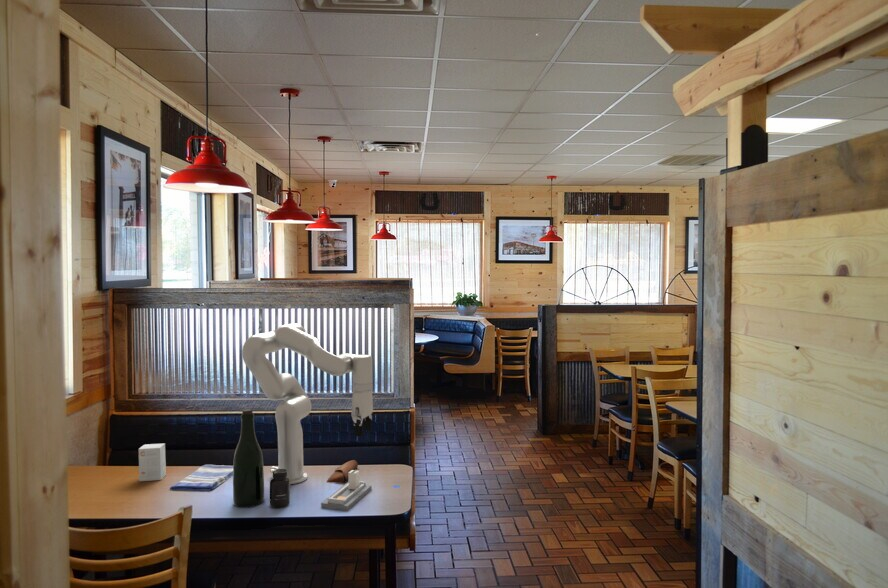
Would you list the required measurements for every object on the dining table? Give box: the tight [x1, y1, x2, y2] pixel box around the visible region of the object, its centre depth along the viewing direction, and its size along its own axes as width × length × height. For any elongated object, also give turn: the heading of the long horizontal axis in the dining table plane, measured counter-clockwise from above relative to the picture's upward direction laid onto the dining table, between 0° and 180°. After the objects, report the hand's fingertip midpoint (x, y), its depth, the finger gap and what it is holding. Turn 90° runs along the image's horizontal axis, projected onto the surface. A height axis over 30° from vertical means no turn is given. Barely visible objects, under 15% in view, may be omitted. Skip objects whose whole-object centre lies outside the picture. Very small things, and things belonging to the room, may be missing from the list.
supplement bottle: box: [269, 469, 291, 509], centre depth 195 cm, size 7×7×12 cm
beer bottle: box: [232, 408, 265, 508], centre depth 198 cm, size 10×10×33 cm
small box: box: [137, 443, 167, 482], centre depth 222 cm, size 8×6×13 cm
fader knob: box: [347, 469, 360, 490], centre depth 206 cm, size 3×3×6 cm
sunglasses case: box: [326, 459, 359, 484], centre depth 225 cm, size 18×7×7 cm, turn 175°
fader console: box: [320, 480, 372, 511], centre depth 201 cm, size 20×10×3 cm, turn 163°
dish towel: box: [169, 464, 233, 492], centre depth 221 cm, size 17×24×3 cm
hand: (363, 432), depth 214 cm, fingers open, 7 cm apart
